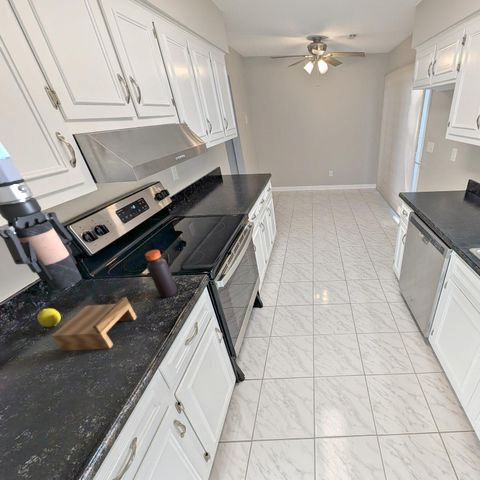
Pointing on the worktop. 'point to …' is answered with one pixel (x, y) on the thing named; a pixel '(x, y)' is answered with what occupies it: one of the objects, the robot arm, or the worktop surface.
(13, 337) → the worktop surface
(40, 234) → the travel mug
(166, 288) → the bottle
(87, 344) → the shelf
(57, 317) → the lemon
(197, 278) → the worktop surface
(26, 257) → the robot arm
